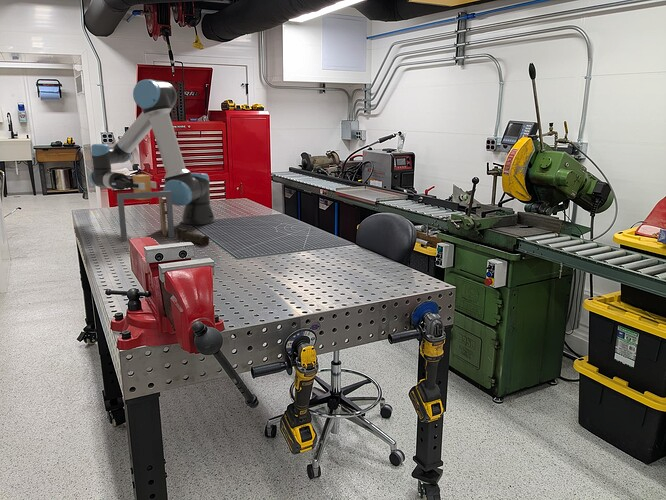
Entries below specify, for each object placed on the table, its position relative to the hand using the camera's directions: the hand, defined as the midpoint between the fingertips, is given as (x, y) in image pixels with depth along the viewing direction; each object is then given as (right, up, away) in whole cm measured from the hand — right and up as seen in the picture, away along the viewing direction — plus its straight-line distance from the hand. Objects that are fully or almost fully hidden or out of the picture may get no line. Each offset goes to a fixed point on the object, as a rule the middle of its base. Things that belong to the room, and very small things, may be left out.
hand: (150, 185), depth 211 cm
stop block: (-5, -5, +4) cm, 8 cm away
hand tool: (+20, -24, -9) cm, 32 cm away
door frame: (+2, -22, -6) cm, 23 cm away
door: (+5, -19, +4) cm, 20 cm away
